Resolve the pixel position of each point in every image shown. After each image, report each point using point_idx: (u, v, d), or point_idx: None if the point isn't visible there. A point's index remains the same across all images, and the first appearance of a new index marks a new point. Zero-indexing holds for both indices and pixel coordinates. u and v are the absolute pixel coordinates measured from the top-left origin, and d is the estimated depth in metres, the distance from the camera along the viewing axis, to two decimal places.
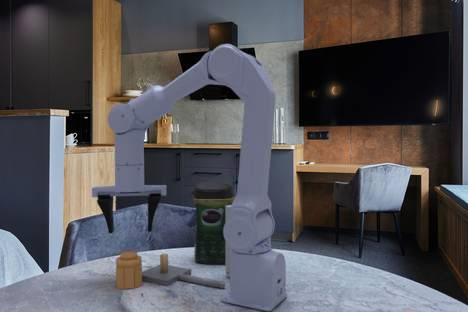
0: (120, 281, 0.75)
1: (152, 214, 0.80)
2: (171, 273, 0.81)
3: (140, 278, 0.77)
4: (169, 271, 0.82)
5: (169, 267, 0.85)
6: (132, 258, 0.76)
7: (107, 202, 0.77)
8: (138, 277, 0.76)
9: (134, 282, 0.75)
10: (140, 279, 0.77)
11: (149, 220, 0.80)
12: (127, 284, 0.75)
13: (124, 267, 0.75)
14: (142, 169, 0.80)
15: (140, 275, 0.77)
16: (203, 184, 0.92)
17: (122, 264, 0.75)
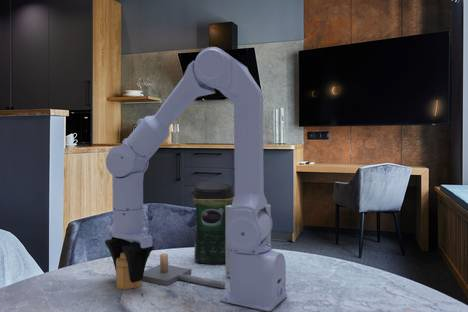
0: (120, 281, 0.75)
1: (129, 265, 0.73)
2: (171, 273, 0.81)
3: None
4: (169, 271, 0.82)
5: (169, 267, 0.85)
6: None
7: (108, 244, 0.78)
8: None
9: (134, 282, 0.75)
10: None
11: (129, 270, 0.74)
12: (127, 284, 0.75)
13: (124, 267, 0.75)
14: (129, 215, 0.74)
15: None
16: (203, 184, 0.92)
17: (122, 264, 0.75)
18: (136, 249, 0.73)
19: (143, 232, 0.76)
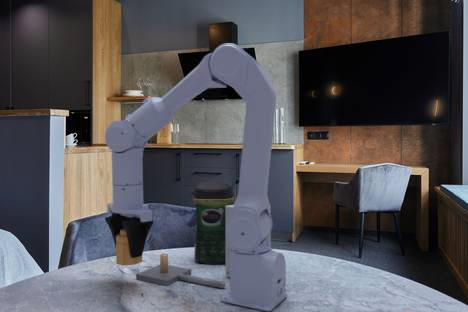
0: (120, 257, 0.75)
1: (129, 239, 0.73)
2: (171, 273, 0.81)
3: None
4: (169, 271, 0.82)
5: (169, 267, 0.85)
6: None
7: (108, 220, 0.77)
8: None
9: (134, 258, 0.75)
10: None
11: (129, 245, 0.74)
12: (127, 260, 0.75)
13: (124, 243, 0.75)
14: (129, 190, 0.74)
15: None
16: (203, 184, 0.92)
17: (122, 240, 0.75)
18: (136, 223, 0.72)
19: (143, 208, 0.76)
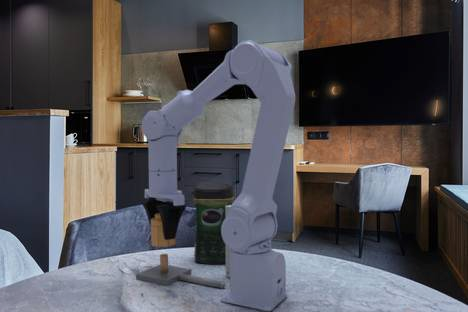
0: (155, 239, 0.80)
1: (163, 222, 0.78)
2: (171, 273, 0.81)
3: None
4: (169, 271, 0.82)
5: (169, 267, 0.85)
6: None
7: (145, 204, 0.82)
8: None
9: (167, 240, 0.80)
10: None
11: (163, 228, 0.78)
12: (161, 242, 0.79)
13: (158, 226, 0.79)
14: (164, 176, 0.79)
15: None
16: (203, 184, 0.92)
17: (156, 223, 0.79)
18: (169, 207, 0.77)
19: (176, 193, 0.80)
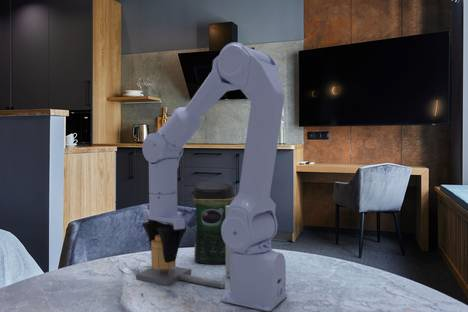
0: (155, 261, 0.80)
1: (163, 245, 0.78)
2: (171, 273, 0.81)
3: None
4: (169, 271, 0.82)
5: None
6: None
7: (145, 226, 0.83)
8: None
9: (168, 263, 0.80)
10: None
11: (163, 250, 0.79)
12: (161, 264, 0.79)
13: (158, 248, 0.79)
14: (164, 199, 0.79)
15: None
16: (203, 184, 0.92)
17: (156, 245, 0.80)
18: (169, 230, 0.77)
19: (177, 215, 0.81)
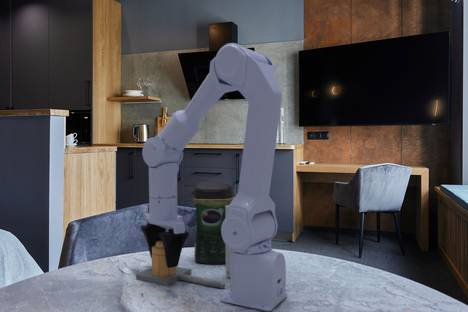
0: (155, 268, 0.80)
1: (166, 250, 0.77)
2: None
3: None
4: None
5: None
6: None
7: (143, 229, 0.83)
8: None
9: (168, 269, 0.80)
10: (174, 267, 0.81)
11: (165, 256, 0.78)
12: (161, 271, 0.79)
13: (159, 255, 0.79)
14: (164, 203, 0.79)
15: None
16: (203, 184, 0.92)
17: (157, 251, 0.80)
18: (172, 236, 0.76)
19: (177, 219, 0.81)
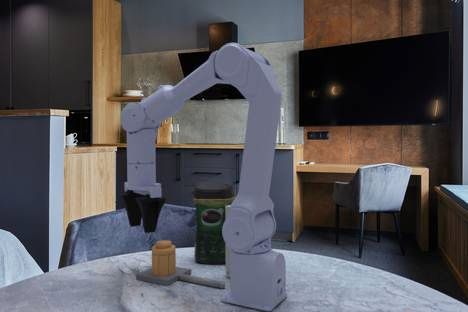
0: (155, 268, 0.80)
1: (143, 215, 0.77)
2: None
3: (174, 266, 0.81)
4: None
5: None
6: (166, 247, 0.80)
7: (122, 197, 0.83)
8: (172, 265, 0.80)
9: (168, 269, 0.80)
10: (174, 267, 0.81)
11: (142, 221, 0.78)
12: (161, 271, 0.79)
13: (159, 255, 0.79)
14: (141, 168, 0.79)
15: (174, 263, 0.81)
16: (203, 184, 0.92)
17: (157, 251, 0.80)
18: (148, 200, 0.76)
19: (155, 186, 0.81)
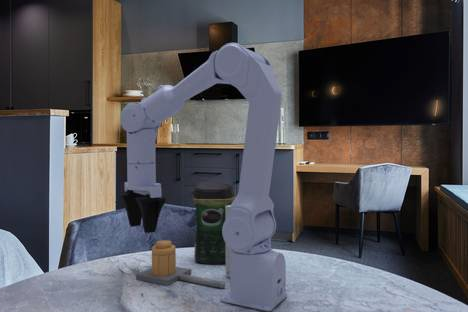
0: (155, 268, 0.80)
1: (143, 215, 0.77)
2: None
3: (174, 266, 0.81)
4: None
5: None
6: (166, 247, 0.80)
7: (122, 197, 0.83)
8: (172, 265, 0.80)
9: (168, 269, 0.80)
10: (174, 267, 0.81)
11: (142, 221, 0.78)
12: (161, 271, 0.79)
13: (159, 255, 0.79)
14: (141, 168, 0.79)
15: (174, 263, 0.81)
16: (203, 184, 0.92)
17: (157, 251, 0.80)
18: (148, 200, 0.76)
19: (155, 186, 0.81)
